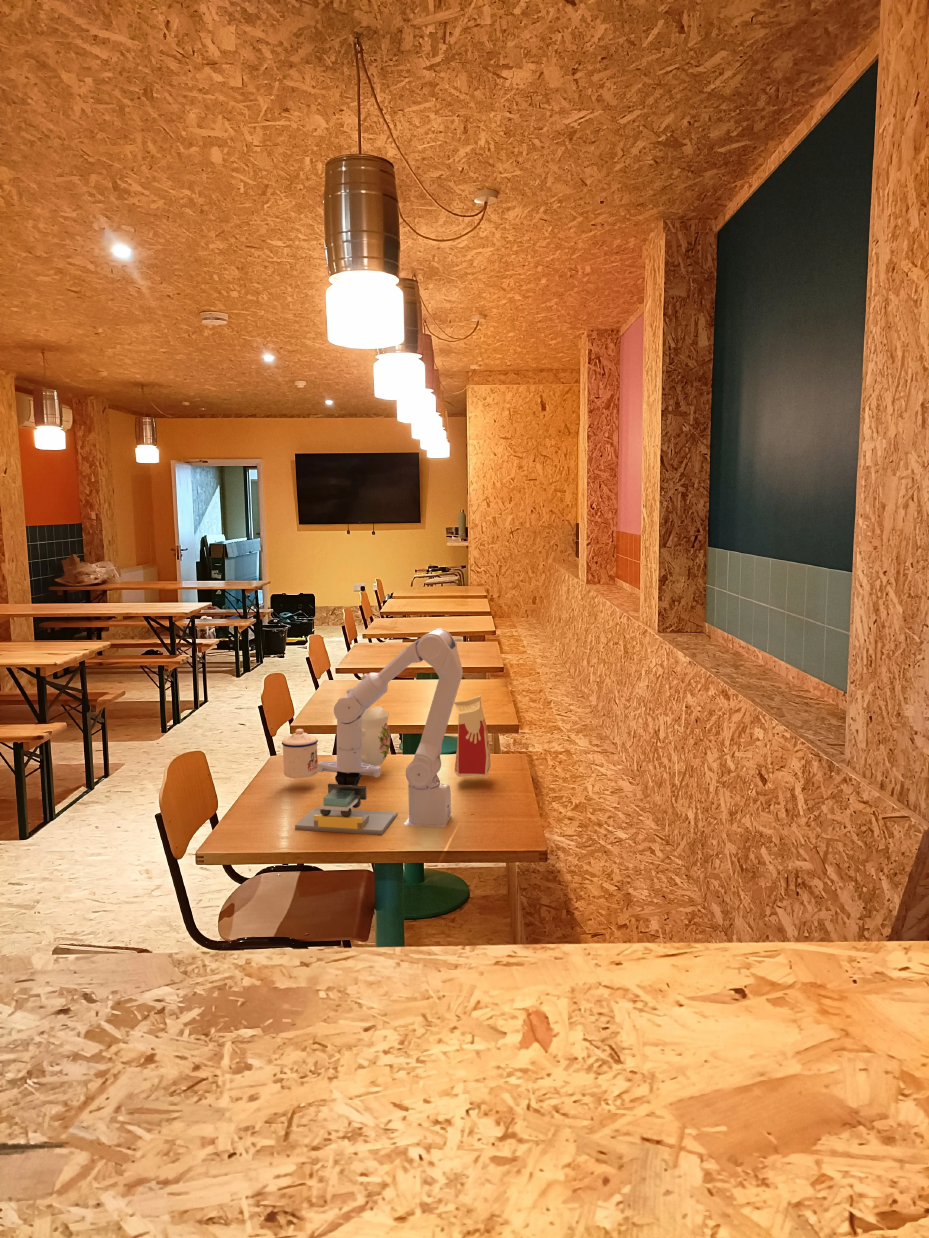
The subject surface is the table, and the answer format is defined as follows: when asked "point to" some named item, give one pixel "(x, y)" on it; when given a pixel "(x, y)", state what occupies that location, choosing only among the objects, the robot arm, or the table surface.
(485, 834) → the table surface
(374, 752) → the pitcher
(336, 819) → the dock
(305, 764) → the teacup with lid
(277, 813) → the table surface
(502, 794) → the table surface
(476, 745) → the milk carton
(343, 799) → the toy cart
